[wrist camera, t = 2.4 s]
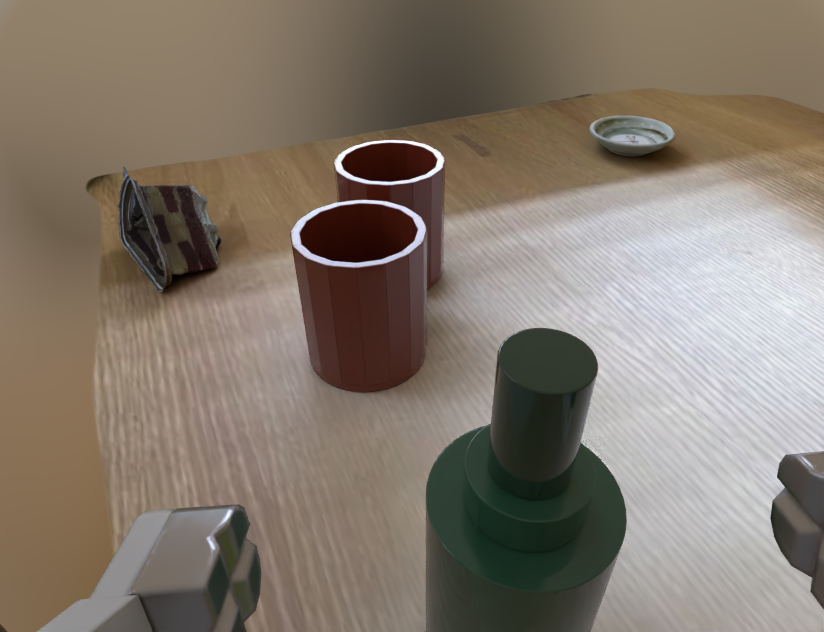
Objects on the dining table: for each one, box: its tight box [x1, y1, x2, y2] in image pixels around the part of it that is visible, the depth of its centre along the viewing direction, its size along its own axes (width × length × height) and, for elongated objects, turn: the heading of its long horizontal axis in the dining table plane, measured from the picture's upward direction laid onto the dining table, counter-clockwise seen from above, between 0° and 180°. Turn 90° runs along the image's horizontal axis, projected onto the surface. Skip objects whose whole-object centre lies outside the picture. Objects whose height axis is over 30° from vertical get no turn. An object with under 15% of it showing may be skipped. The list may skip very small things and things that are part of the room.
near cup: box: [290, 200, 427, 392], centre depth 40 cm, size 8×8×10 cm
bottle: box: [426, 328, 627, 632], centre depth 21 cm, size 6×6×18 cm
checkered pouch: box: [117, 167, 221, 292], centre depth 54 cm, size 10×7×12 cm
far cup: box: [334, 140, 445, 290], centre depth 49 cm, size 8×8×10 cm
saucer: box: [590, 116, 675, 157], centre depth 71 cm, size 10×10×2 cm
